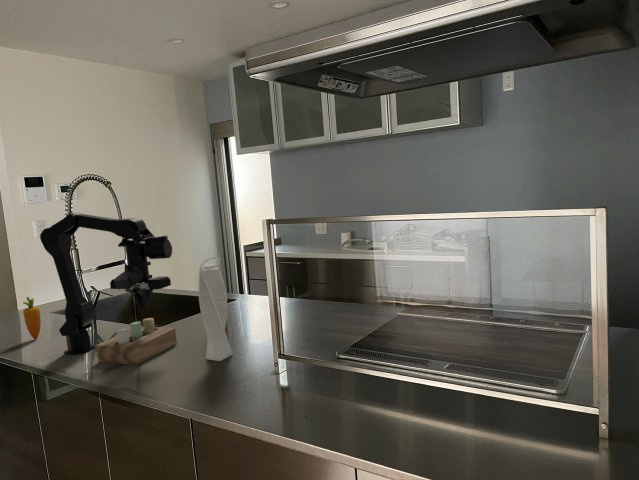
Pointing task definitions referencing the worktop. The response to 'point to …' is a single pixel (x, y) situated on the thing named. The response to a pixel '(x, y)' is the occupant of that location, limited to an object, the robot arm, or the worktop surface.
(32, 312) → the carrot
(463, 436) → the worktop surface
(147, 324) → the plug beech
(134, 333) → the plug green
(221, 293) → the skyscraper
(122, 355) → the wooden plug holder
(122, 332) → the plug grey
